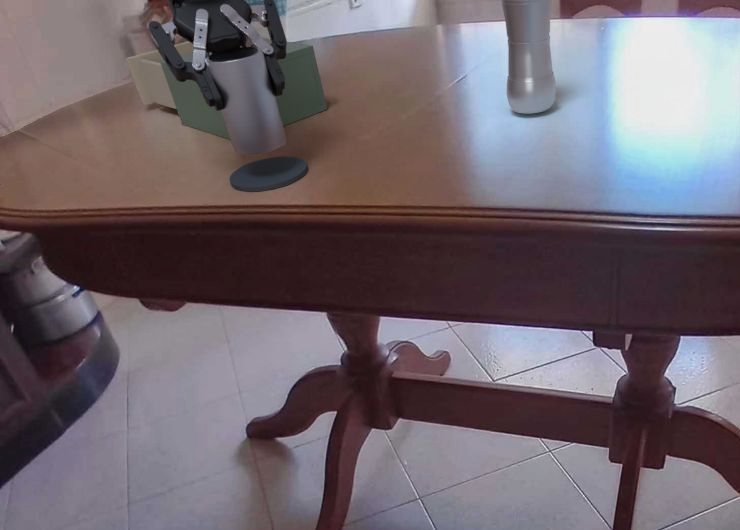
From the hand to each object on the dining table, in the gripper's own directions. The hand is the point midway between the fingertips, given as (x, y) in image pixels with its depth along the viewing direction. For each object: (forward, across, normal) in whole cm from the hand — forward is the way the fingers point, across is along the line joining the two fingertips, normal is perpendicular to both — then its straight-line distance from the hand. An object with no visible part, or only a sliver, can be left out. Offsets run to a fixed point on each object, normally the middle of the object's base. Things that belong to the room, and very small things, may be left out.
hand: (250, 98), depth 76 cm
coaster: (+5, 0, +8) cm, 9 cm away
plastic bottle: (+8, +35, +5) cm, 36 cm away
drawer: (-23, 0, +35) cm, 42 cm away
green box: (-12, +5, +25) cm, 28 cm away
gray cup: (+3, 0, +5) cm, 6 cm away
